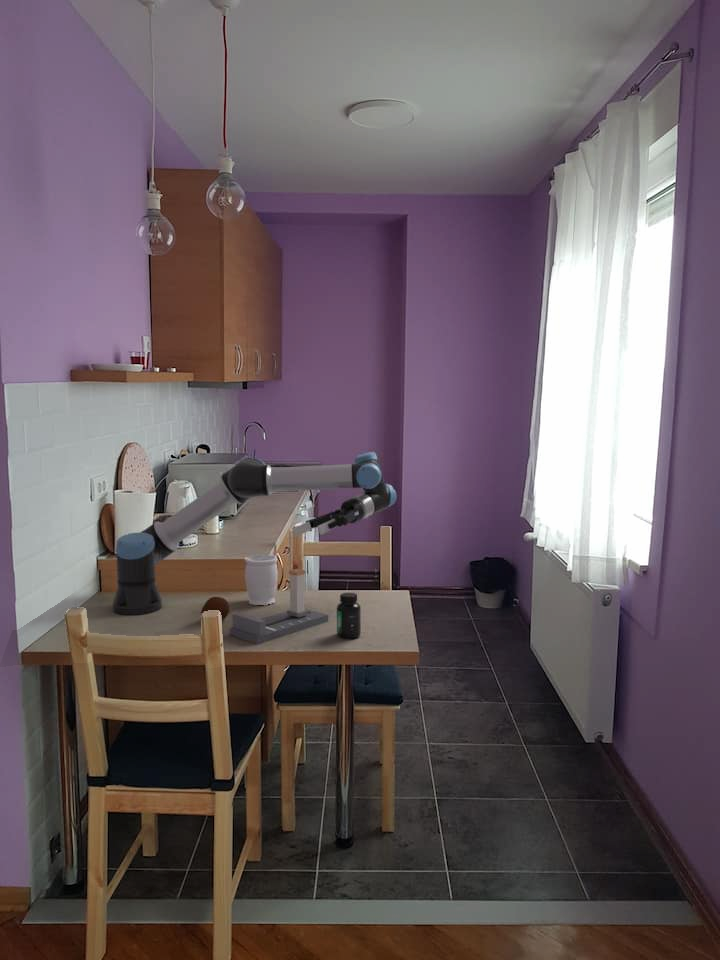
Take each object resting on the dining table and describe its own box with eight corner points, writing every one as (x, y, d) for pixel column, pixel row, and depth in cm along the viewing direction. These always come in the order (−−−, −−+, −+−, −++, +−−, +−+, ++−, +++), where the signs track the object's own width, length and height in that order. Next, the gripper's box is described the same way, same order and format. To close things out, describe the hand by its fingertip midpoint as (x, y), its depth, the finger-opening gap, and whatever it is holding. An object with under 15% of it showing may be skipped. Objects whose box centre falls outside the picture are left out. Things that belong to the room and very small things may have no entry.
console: (300, 613, 244) (300, 594, 243) (328, 621, 236) (328, 601, 235) (229, 634, 223) (229, 614, 223) (257, 644, 215) (257, 623, 215)
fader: (296, 611, 238) (296, 567, 236) (308, 614, 234) (307, 570, 233) (286, 614, 235) (286, 570, 233) (298, 617, 232) (298, 573, 230)
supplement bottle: (337, 639, 219) (337, 598, 218) (336, 632, 226) (335, 591, 224) (361, 639, 220) (361, 597, 218) (359, 631, 226) (359, 591, 225)
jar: (281, 598, 261) (280, 554, 259) (273, 607, 250) (273, 561, 248) (250, 597, 262) (249, 553, 260) (241, 606, 252) (240, 560, 250)
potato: (235, 617, 240) (235, 592, 239) (220, 628, 229) (219, 602, 228) (212, 615, 242) (212, 590, 241) (196, 626, 231) (195, 600, 230)
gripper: (385, 517, 242) (334, 541, 229) (337, 522, 262) (287, 544, 249) (378, 494, 242) (326, 517, 228) (330, 501, 261) (280, 522, 248)
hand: (306, 531), depth 239 cm, fingers open, 13 cm apart
